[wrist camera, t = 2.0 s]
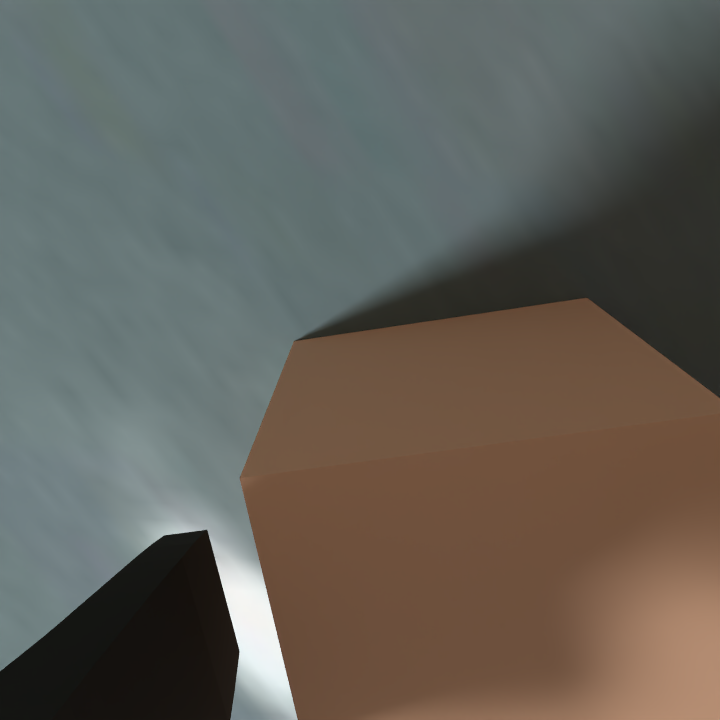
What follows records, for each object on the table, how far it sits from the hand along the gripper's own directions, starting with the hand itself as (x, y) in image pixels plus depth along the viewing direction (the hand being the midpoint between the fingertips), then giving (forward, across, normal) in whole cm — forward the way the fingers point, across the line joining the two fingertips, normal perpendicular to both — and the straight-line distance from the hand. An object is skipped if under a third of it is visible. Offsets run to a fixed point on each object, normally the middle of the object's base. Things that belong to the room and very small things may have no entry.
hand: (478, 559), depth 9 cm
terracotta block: (+3, 0, 0) cm, 3 cm away
